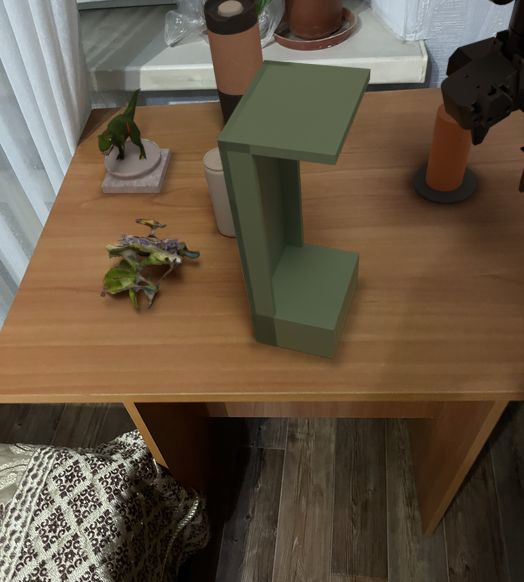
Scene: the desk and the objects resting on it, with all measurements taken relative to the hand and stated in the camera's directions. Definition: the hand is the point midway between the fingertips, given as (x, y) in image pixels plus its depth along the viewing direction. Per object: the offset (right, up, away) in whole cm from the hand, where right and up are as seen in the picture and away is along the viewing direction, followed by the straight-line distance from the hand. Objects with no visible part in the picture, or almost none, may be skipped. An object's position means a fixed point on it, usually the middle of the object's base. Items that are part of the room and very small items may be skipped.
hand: (499, 166), depth 63 cm
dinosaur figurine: (-47, +9, +28) cm, 55 cm away
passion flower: (-42, -12, +13) cm, 45 cm away
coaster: (0, +4, +18) cm, 19 cm away
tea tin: (0, +4, +18) cm, 18 cm away
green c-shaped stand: (-20, -16, +7) cm, 27 cm away
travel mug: (-30, +16, +30) cm, 45 cm away
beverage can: (-31, -3, +18) cm, 36 cm away
